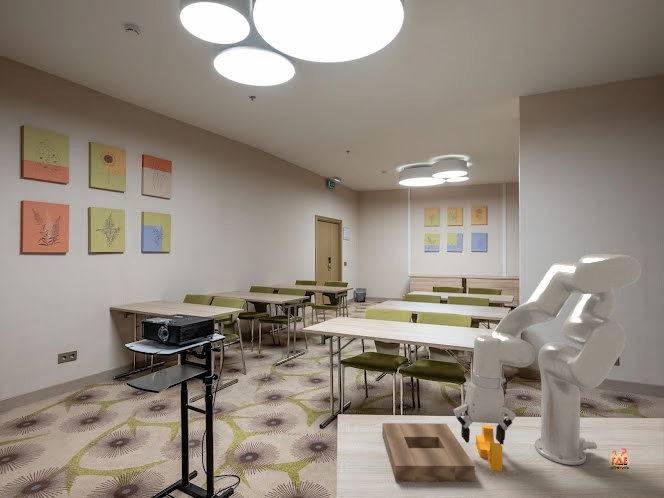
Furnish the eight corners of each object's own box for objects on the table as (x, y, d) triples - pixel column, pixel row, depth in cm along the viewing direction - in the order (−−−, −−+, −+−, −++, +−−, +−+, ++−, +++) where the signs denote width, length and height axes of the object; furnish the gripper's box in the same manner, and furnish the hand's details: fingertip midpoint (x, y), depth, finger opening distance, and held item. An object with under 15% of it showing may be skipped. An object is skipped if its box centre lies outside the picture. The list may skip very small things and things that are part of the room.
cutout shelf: (446, 436, 114) (446, 423, 114) (474, 481, 92) (474, 465, 92) (382, 436, 114) (382, 423, 114) (395, 481, 92) (395, 465, 92)
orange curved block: (475, 445, 109) (476, 424, 109) (491, 447, 108) (491, 425, 108) (484, 469, 97) (485, 445, 97) (502, 471, 97) (502, 447, 97)
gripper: (509, 377, 107) (506, 435, 107) (451, 374, 107) (447, 432, 107) (523, 387, 99) (519, 450, 99) (460, 383, 99) (456, 446, 99)
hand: (482, 441), depth 103 cm, fingers open, 9 cm apart
